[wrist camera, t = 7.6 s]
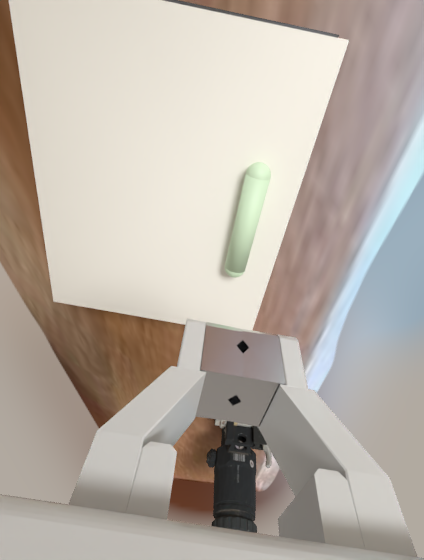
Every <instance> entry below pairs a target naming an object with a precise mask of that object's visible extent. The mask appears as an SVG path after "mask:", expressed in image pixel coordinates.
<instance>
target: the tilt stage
mask: <svg viewBox="0 0 424 560" xmlns="http://www.w3.org/2000/svg"><path fill="white" fill-rule="evenodd" d="M9 6H10V13H11V19H12V26H13V33H14V40H15V46H16V53H17V60H18V66H19V73H20V80H21V87H22V93H23V100H24V107H25V113H26V120H27V127H28V134H29V140H30V147H31V154H32V160H33V167H34V174H35V180H36V187H37V194H38V201H39V207H40V214H41V221H42V227H43V234H44V241H45V248H46V254H47V261H48V268H49V274H50V281H51V288H52V295H53V301H54V302H59V303H65V304H70V305H76V306H82V307H87V308H93V309H99V310H104V311H110V312H116V313H122V314H127V315H133V316H139V317H144V318H150V319H156V320H161V321H167V322H173V323H179V324H184V325H185V324H186V321H187V318H188V319H193V320H197V321H202V322H205V323H206V322H209V323H214V324H219V325H224V326H229V327H234V328H239V329H246V330H252V329H253V326H254V323H255V320H256V317H257V314H258V311H259V308H260V305H261V302H262V299H263V296H264V293H265V290H266V287H267V284H268V281H269V278H270V275H271V272H272V269H273V266H274V263H275V260H276V257H277V254H278V251H279V248H280V245H281V242H282V239H283V236H284V233H285V230H286V227H287V224H288V221H289V218H290V215H291V212H292V209H293V206H294V203H295V201H296V198H297V195H298V192H299V189H300V186H301V183H302V180H303V177H304V174H305V171H306V168H307V165H308V162H309V159H310V156H311V153H312V150H313V147H314V144H315V141H316V138H317V135H318V132H319V129H320V126H321V123H322V120H323V117H324V114H325V111H326V108H327V105H328V102H329V99H330V96H331V93H332V90H333V87H334V84H335V81H336V78H337V75H338V72H339V69H340V66H341V63H342V60H343V57H344V54H345V51H346V48H347V45H348V42H349V40H346V39H341V38H336V37H332V36H327V35H322V34H318V33H313V32H308V31H304V30H299V29H294V28H290V27H285V26H280V25H276V24H271V23H266V22H262V21H257V20H252V19H248V18H243V17H238V16H233V15H229V14H224V13H219V12H215V11H210V10H205V9H201V8H196V7H191V6H187V5H182V4H177V3H173V2H168V1H163V0H9Z"/></svg>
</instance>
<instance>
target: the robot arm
mask: <svg viewBox="0 0 424 560" xmlns="http://www.w3.org/2000/svg"><path fill="white" fill-rule="evenodd" d="M195 416H196V417H203V418H211V419H218V420H225V421H231V422H236V423H241V424H247V425H252V426H257V427H259V430H260V432H261V434H262V435H263V437H264V439H265V441H266V443H267V445H268V447H269V448H270V450H271V452H272V454H273V456H274V458H275V460H276V461H277V463H278V465H279V467H280V469H281V471H282V473H283V475H284V476H285V478H286V480H287V482H288V484H289V486H290V488H291V489H292V491H293V493H294V495H295V498H294V500H293V501H292V502H291V503H290V505H289V506H288V507H287V508H286V510H285V511H284V512H283V513H282V515H281V516H280V517H279V518H278V524H279V536H273V535H267V534H260V533H253V532H247V531H240V530H233V529H227V528H220V527H214V526H207V525H200V524H193V523H187V522H180V521H173V520H167V515H168V509H169V502H170V494H171V489H172V482H173V475H174V469H175V462H176V455H177V452H176V450H175V449H174V448H173V446H174V444H175V443H176V442H177V441H178V439H179V438H180V437H181V436H182V434H183V433H184V432H185V430H186V429H187V428H188V427H189V425H190V424H191V423H192V422H193V420H194V419H195ZM0 560H424V558H418V557H417V554H416V551H415V549H414V546H413V543H412V540H411V537H410V534H409V532H408V529H407V526H406V523H405V520H404V517H403V514H402V511H401V509H400V506H399V503H398V500H397V497H396V494H395V492H394V489H393V486H392V483H391V480H390V478H389V477H388V476H387V474H386V473H385V472H384V471H383V470H382V469H381V468H380V466H379V465H378V464H377V463H376V462H375V461H374V459H373V458H372V457H371V456H370V455H369V454H368V452H367V451H366V450H365V449H364V448H363V447H362V445H361V444H360V443H359V442H358V441H357V440H356V438H355V437H354V436H353V435H352V434H351V433H350V432H349V430H348V429H347V428H346V427H345V426H344V425H343V423H342V422H341V421H340V420H339V419H338V418H337V417H336V415H335V414H334V413H333V412H332V411H331V409H330V408H329V407H328V406H327V405H326V404H325V402H324V401H323V400H322V399H321V398H320V397H319V396H318V394H317V393H316V392H315V391H314V390H310V389H308V386H307V381H306V376H305V371H304V367H303V362H302V357H301V352H300V348H299V343H298V340H297V339H296V338H295V337H289V336H283V335H276V334H270V333H264V332H258V331H252V330H246V329H239V328H234V327H229V326H224V325H219V324H214V323H209V322H206V323H205V322H202V321H197V320H193V319H188V318H187V321H186V324H185V329H184V334H183V339H182V344H181V349H180V354H179V359H178V364H177V367H175V366H170V367H169V368H168V369H167V370H166V371H165V372H164V373H162V374H161V375H160V376H159V377H158V378H157V379H156V380H154V381H153V382H152V383H151V384H150V385H149V386H148V387H146V388H145V389H144V390H143V391H142V392H141V393H140V394H138V395H137V396H136V397H135V398H134V399H133V400H132V401H130V402H129V403H128V404H127V405H126V406H125V407H124V408H122V409H121V410H120V411H119V412H118V413H117V414H116V415H114V416H113V417H112V418H111V419H110V420H109V421H108V422H106V423H105V424H104V425H103V426H102V427H101V428H100V429H98V430H97V432H96V435H95V438H94V440H93V443H92V445H91V448H90V450H89V453H88V456H87V458H86V461H85V464H84V466H83V469H82V471H81V474H80V476H79V479H78V481H77V484H76V487H75V489H74V492H73V494H72V497H71V500H70V502H69V505H68V504H61V503H55V502H48V501H41V500H35V499H27V498H21V497H15V496H8V495H2V494H0Z"/></svg>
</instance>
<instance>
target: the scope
mask: <svg viewBox="0 0 424 560" xmlns="http://www.w3.org/2000/svg"><path fill="white" fill-rule="evenodd" d="M215 425H217V426H220V428H222V441H221V447H219V448H218V449H217V451H216V450H215V449H214V450H213V449H211V450H210V451H209V452H208V454H207V463H208V465H209V467H212V468H213V467H214V466H215V468H214V474H215V476H214V511H213V516H214V518H215V520H214V521H213V522H212V526H214V527H220V528H227V529H233V530H240V531H247V532H253V533H257V526H256V525H255V524H254V522H253V521H254V520H255V510H256V509H255V508H256V507H255V506H256V505H255V504H256V500H255V499H256V498H255V497H256V495H255V494H256V493H255V492H256V482H255V475H256V454H255V452H254V451H253V450H252V449H258V450H264V452H265V454H266V460H267V461H266V467H267V468H270V466H271V464H272V461H271V450H270V448H269V447H268V445H267V443H266V441H265V439H264V437H263V435H262V434H261V432H260V430H259V427H257V426H252V425H247V424H241V423H236V422H231V421H225V420H218V419H215Z"/></svg>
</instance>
